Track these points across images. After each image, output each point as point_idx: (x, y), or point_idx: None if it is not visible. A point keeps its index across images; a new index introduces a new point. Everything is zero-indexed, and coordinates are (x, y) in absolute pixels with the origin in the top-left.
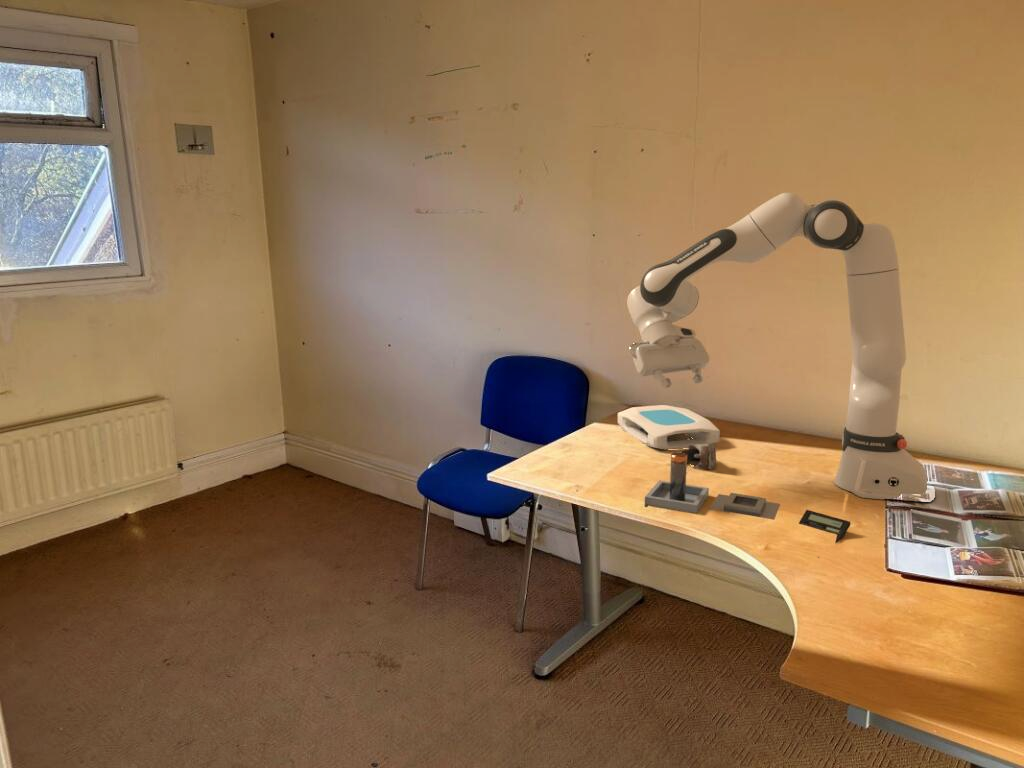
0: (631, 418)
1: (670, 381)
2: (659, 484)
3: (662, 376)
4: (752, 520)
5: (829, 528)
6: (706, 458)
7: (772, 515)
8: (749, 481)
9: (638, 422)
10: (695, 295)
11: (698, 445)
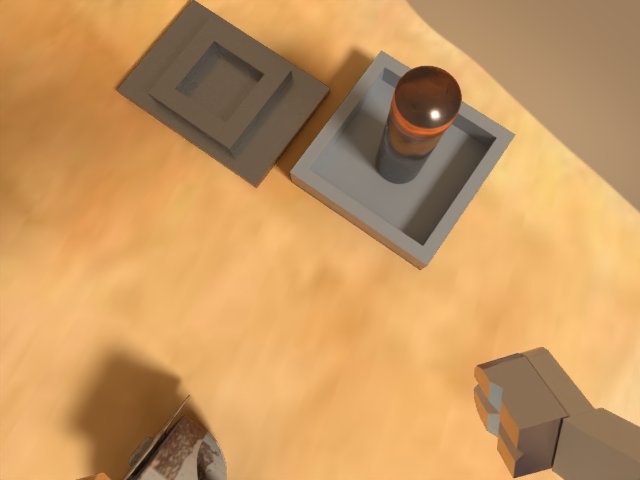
0: None
1: (496, 382)
2: (439, 228)
3: (632, 435)
4: (243, 20)
5: None
6: (184, 419)
7: (182, 21)
8: (96, 296)
9: None
10: None
11: None
